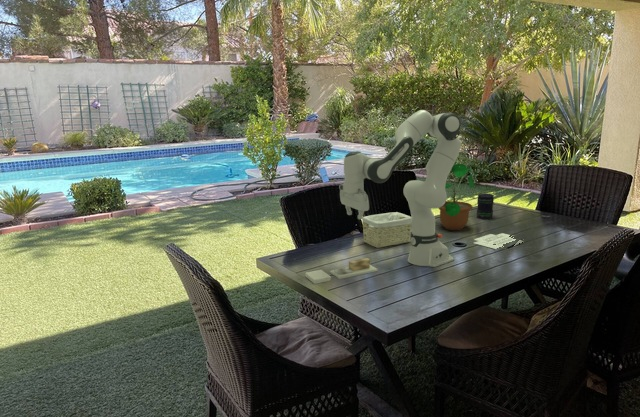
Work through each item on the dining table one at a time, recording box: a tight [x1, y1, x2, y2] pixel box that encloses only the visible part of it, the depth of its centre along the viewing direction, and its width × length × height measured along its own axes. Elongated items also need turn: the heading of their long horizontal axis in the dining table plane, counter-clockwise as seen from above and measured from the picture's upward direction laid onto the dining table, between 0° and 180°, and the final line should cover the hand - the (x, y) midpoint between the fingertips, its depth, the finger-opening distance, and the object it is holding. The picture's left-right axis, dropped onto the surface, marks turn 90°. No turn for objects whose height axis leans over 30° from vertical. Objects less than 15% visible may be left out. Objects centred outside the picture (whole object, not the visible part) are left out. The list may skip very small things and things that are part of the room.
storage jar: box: [476, 193, 495, 221], centre depth 302 cm, size 10×10×15 cm
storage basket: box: [361, 211, 412, 249], centre depth 258 cm, size 24×16×15 cm
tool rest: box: [329, 264, 379, 280], centre depth 217 cm, size 20×9×1 cm, turn 116°
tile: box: [305, 269, 332, 285], centre depth 210 cm, size 2×10×8 cm
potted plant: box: [438, 163, 476, 231], centre depth 279 cm, size 31×29×40 cm
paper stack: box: [473, 232, 523, 250], centre depth 256 cm, size 20×28×4 cm
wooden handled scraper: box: [333, 257, 371, 275], centre depth 216 cm, size 17×5×4 cm, turn 116°
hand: (354, 216), depth 217 cm, fingers open, 8 cm apart
